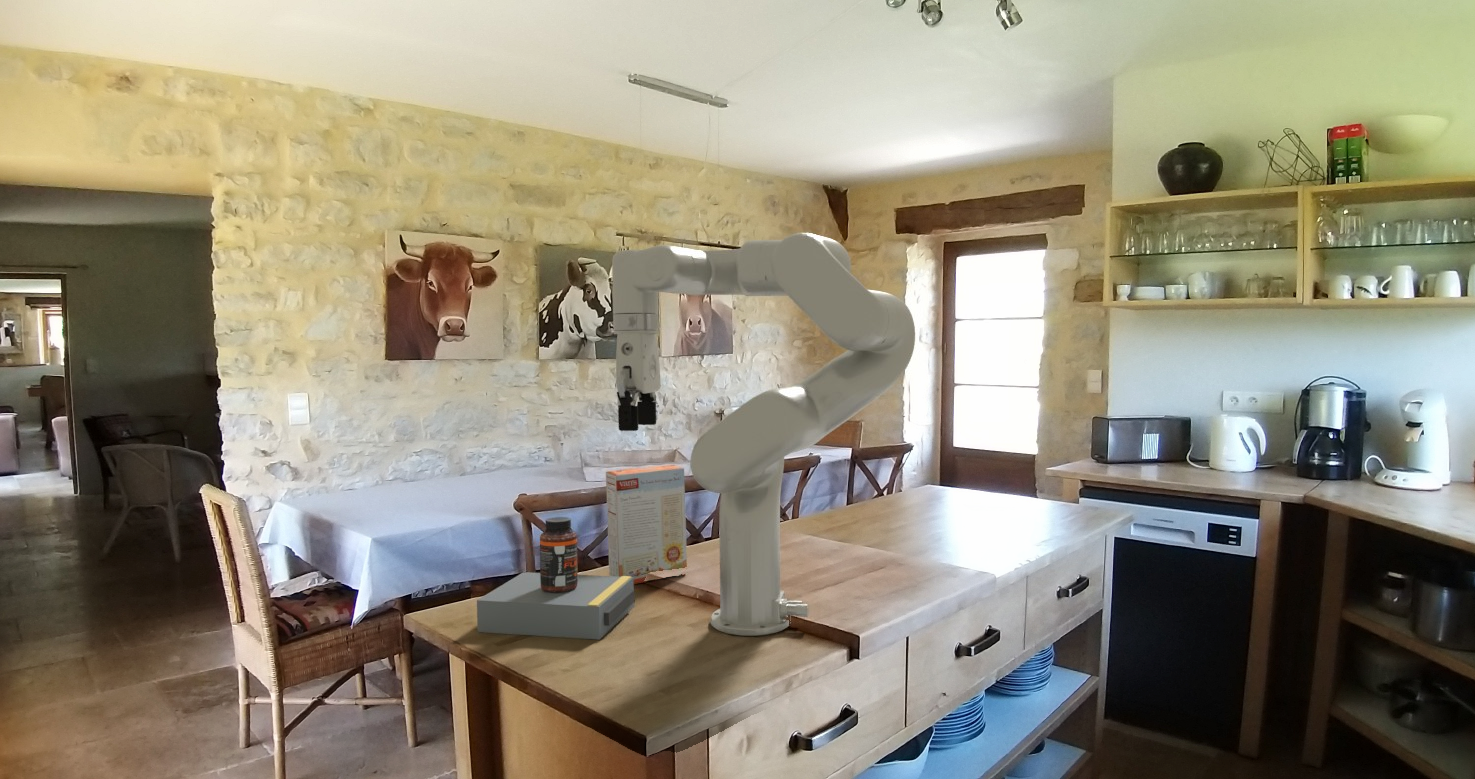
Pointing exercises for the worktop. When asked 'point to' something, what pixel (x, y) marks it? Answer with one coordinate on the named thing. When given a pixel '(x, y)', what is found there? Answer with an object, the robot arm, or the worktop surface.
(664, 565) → the cracker box
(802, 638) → the worktop surface
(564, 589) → the supplement bottle
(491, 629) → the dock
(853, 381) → the robot arm
